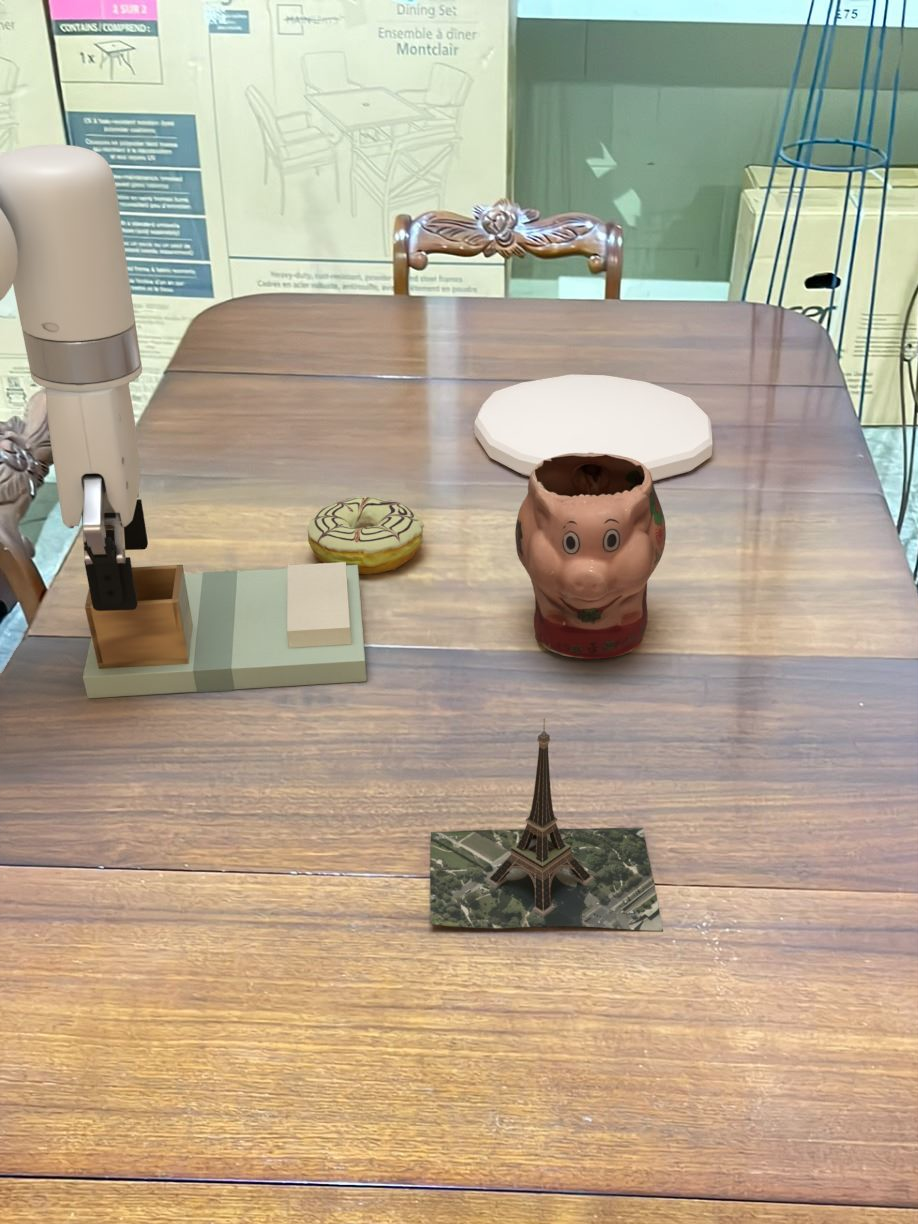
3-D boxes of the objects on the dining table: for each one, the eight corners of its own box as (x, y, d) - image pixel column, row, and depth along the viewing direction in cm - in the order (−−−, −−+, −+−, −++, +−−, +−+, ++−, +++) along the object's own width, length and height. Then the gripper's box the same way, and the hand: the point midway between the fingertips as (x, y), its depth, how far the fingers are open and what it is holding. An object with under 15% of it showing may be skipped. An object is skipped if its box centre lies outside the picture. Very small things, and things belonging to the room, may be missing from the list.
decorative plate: (762, 421, 138) (547, 468, 130) (757, 460, 141) (546, 509, 132) (634, 343, 155) (437, 380, 146) (632, 380, 158) (438, 418, 149)
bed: (87, 699, 107) (78, 659, 105) (108, 598, 119) (99, 560, 117) (366, 682, 109) (363, 642, 107) (359, 585, 121) (356, 547, 119)
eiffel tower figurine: (645, 832, 95) (660, 667, 86) (663, 931, 87) (681, 761, 78) (431, 836, 95) (423, 671, 86) (429, 935, 87) (421, 765, 78)
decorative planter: (508, 569, 123) (509, 418, 114) (642, 566, 124) (653, 416, 115) (521, 689, 108) (523, 527, 99) (673, 685, 109) (689, 523, 100)
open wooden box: (98, 669, 107) (84, 606, 103) (106, 630, 111) (92, 569, 108) (188, 663, 107) (177, 601, 104) (192, 625, 112) (182, 564, 108)
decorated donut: (429, 527, 129) (428, 490, 127) (418, 582, 121) (416, 543, 119) (320, 524, 130) (317, 486, 127) (302, 578, 122) (298, 539, 119)
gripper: (44, 310, 100) (85, 528, 111) (7, 399, 87) (57, 636, 98) (149, 310, 101) (178, 526, 112) (127, 397, 88) (163, 632, 99)
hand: (122, 577), depth 105 cm, fingers open, 9 cm apart
